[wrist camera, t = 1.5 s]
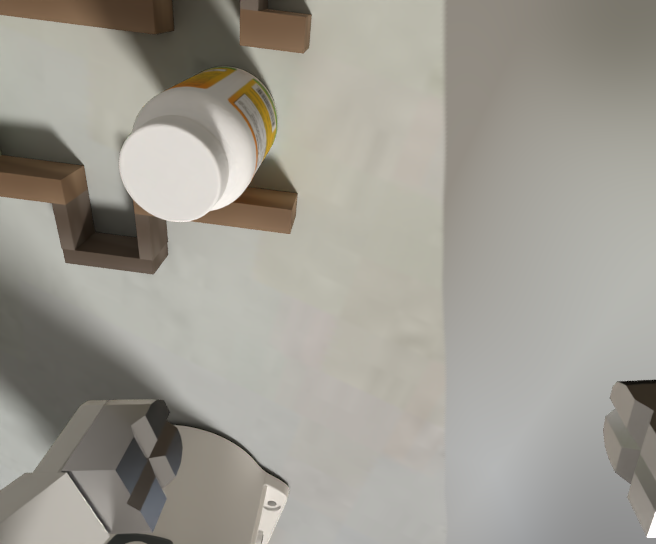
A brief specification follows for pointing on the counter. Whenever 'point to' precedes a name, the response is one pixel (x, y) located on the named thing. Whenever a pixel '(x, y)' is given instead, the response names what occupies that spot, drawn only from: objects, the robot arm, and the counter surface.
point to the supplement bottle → (198, 144)
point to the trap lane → (151, 243)
